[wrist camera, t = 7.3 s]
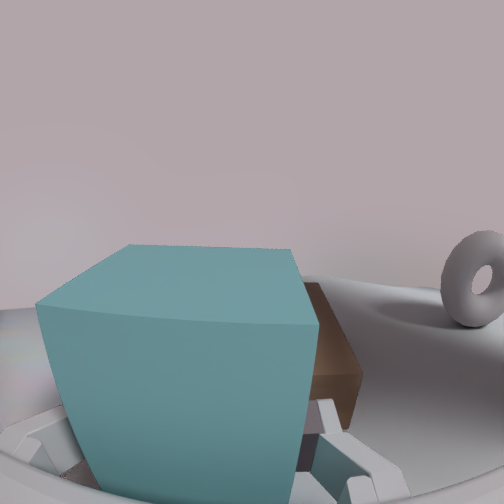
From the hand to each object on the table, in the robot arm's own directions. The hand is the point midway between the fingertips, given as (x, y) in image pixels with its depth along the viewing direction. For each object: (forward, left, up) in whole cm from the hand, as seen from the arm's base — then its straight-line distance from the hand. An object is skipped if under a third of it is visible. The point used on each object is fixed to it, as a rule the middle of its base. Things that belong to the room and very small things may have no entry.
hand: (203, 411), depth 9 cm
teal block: (0, +1, -6) cm, 6 cm away
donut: (-24, -17, -6) cm, 30 cm away
